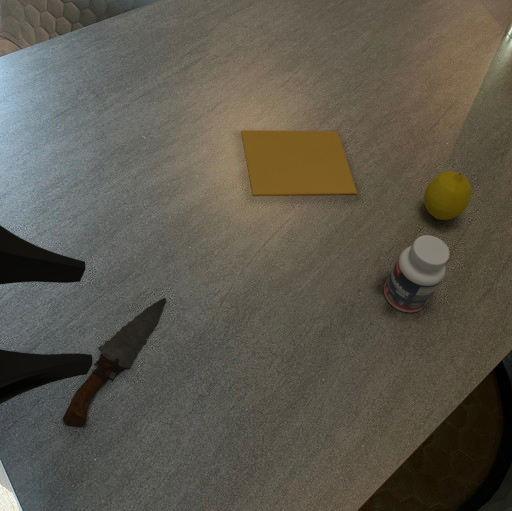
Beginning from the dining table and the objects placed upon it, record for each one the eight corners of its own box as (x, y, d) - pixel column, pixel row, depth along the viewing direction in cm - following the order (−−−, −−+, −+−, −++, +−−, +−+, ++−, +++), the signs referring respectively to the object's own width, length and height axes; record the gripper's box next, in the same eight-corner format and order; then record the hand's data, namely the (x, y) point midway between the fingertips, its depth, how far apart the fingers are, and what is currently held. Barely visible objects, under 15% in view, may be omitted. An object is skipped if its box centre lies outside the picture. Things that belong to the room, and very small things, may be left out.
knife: (78, 428, 57) (41, 388, 57) (73, 434, 59) (38, 395, 59) (197, 323, 67) (166, 289, 68) (190, 331, 69) (159, 298, 69)
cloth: (252, 195, 80) (253, 194, 80) (241, 131, 87) (241, 130, 87) (356, 194, 83) (357, 193, 83) (337, 132, 90) (337, 131, 90)
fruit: (431, 194, 85) (454, 150, 78) (464, 219, 83) (490, 176, 76) (407, 213, 82) (428, 169, 76) (441, 239, 80) (466, 196, 74)
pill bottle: (375, 281, 74) (398, 234, 67) (412, 272, 76) (439, 225, 69) (396, 318, 72) (422, 273, 65) (434, 308, 73) (464, 262, 66)
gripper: (-146, 400, 34) (106, 390, 40) (-120, 184, 41) (91, 205, 47) (-140, 440, 39) (82, 425, 45) (-117, 243, 46) (72, 254, 52)
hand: (86, 316), depth 46 cm, fingers open, 7 cm apart
